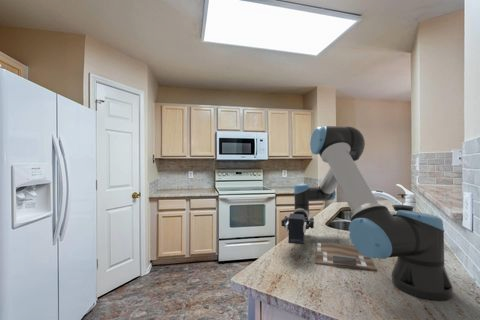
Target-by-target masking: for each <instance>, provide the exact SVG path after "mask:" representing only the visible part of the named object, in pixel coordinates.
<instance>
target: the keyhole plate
mask: <svg viewBox="0 0 480 320" xmlns="http://www.w3.org/2000/svg"><path fill="white" fill-rule="evenodd" d="M314 263H315V265H323V266H329V267H339V268H347V269H355V270H364V271H371V272H377V268H376V266H375V263H374V262H373V258H368V257H366V256H364V255H362V254H361V253H360V252H359V251H358V250H357V249H356V248H355V247H354V245H350V244H349V245H348V244H347V245H346V244H336V243H326V242H316V247H315V261H314Z"/></svg>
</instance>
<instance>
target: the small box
mask: <svg viewBox="0 0 480 320" xmlns="http://www.w3.org/2000/svg"><path fill="white" fill-rule="evenodd" d="M288 217H289V218H288V225H289V227H288V228H289V229H288V237H287V238H288V242H287V243H288V244H292V245H293V244H295V245H304V242H305V233H304V232H303V226H304V215H302V214H293V213H290V214H289V216H288Z"/></svg>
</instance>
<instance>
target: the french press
mask: <svg viewBox="0 0 480 320" xmlns="http://www.w3.org/2000/svg"><path fill="white" fill-rule="evenodd" d="M397 196H401V199H402V200H401V201H402V203H401V204H393V205H392V208H393V210H394V211H396V212H397V211H398V210H405V211H413V212H414V208H415V207H414V206H413V205H412V206H411V205H406V204H404V198H405V197H407V196H408V194H406V193H398V194H397ZM391 215H392V216H393V217H394V216H396V213H394V214H391Z"/></svg>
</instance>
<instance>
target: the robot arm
mask: <svg viewBox="0 0 480 320" xmlns="http://www.w3.org/2000/svg"><path fill="white" fill-rule="evenodd" d="M309 141H310V142H309V147H310V151H311V153H312V154H314V155H315V156H316V155H319V156H320V158H321V160H322V162H324V163H327V164H328V166H329V169H328V170H327V173H326V174H325V176H324V178H323V179H322V181H321V182H320V184H319V186H317V187H316V186H313V187H311V186H310V185H309V184H307V183H296V184H295V185H294V187H293V188H294V189H293V194H294V195H293V196H294V199H293V200H294V211H293V213H292V214H302V215H304V226H303V232H304V234H306V232H307V230H309V229H314V227H315V225H314V224H315V217H310V202H328V201H333V200H335V198H336V188H337V187H339V188H340V190H341V192H342V195H343V196H344V199H345V200H346V203H347V205H348V207H349V208H350V211H351V213H352V214H351V217H350V223H349V225H348V231H349V233H348V235H349V239H350V242H351V243H352V246H354V247H355V248H356V249H357V250H358V251H359V252H360V253H361V254H362V255H364V256H366V257H368V258H371V259H381V260H384V259H385V260H386V259H387V258H397V259H396V261H395V264H394V266H393V269H392V272H391V283H392V284H393V285H394V286H395V287H396V288H397V289H399V290H401V291H403V292H404V293H406V294H408V295H411V296H415V297H418V298H421V299H426V300H431V301H448V300H451V299H452V298H453V297H454V288H453V287H454V286H453V284H452V282H451V280H450V278H449V275H448V271H447V270H446V267H445V229H444V222H443V220H442V218H440V217H439V216H437V215H434V214H429V213H423V212H419V211H418V212H417V211H414V210H413V211H405V210H398V211H396V213H395V214H396V216H394V217H393V216H392V215H393V214H392V213H391V212H390V210H389V209H388V207H387V206H386V205H383V204H380V203H379V202H378V200H377V198H376V196H375V195H374V193H373V192H372V190H371V188H370V186H369V185H368V183H367V181H366V179H365V178H364V176H363V174H362V173H361V170H360V169H359V168H358V166H357V164H356V163H355V162H356V161H358V160H359V159H360V157H361V156H362V154H363V153H364V150H365V146H366V143H365V137H364V135H363V133H362V132H361V131H360V130H359V129H358V128H356V127H354V126H338V125H337V126H336V125H335V126H332V125H324V126H322V125H321V126H317V127H315V128H314V129H313V131H312V133H311V136H310V140H309ZM288 218H289V216H286V215H285V216H284V218H283V219H281V227H284V228H285V232H289V230H288V229H289V228H288V227H289V225H288Z"/></svg>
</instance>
